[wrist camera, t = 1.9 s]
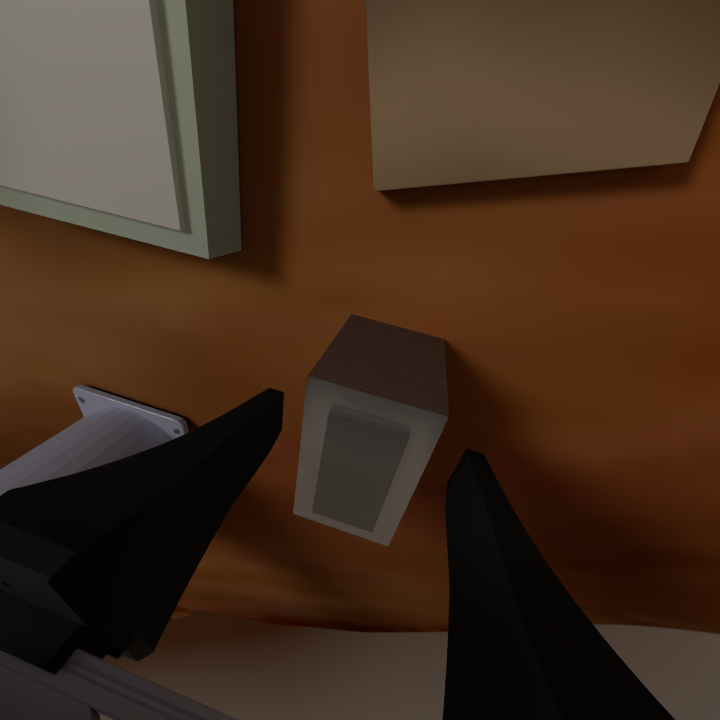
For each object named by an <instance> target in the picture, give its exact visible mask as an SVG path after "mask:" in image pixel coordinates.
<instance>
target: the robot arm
mask: <svg viewBox="0 0 720 720" xmlns="http://www.w3.org/2000/svg"><path fill="white" fill-rule="evenodd" d="M73 393H74V395H75V397H76V400H77V402H78V404H79V406H80V409H81V411H82V413H83V416H84V418H82V419H80V420H79V421H77V422H76V423H74V424H72V425H71V426H69V427H68V428H66V429H65V430H63V431H61V432H60V433H58V434H57V435H55V436H53V437H52V438H50V439H49V440H47V441H45V442H44V443H42V444H41V445H39V446H37V447H36V448H34V449H33V450H31V451H29V452H28V453H26V454H25V455H23V456H21V457H20V458H18V459H17V460H15V461H13V462H12V463H10V464H9V465H7V466H5V467H4V468H2V469H1V470H0V720H100V715H99V714H98V713H100V714H103V715H104V716H107V717H109V718H111V719H113V720H237V719H235V718H233V717H231V716H229V715H226V714H224V713H222V712H219V711H217V710H215V709H213V708H211V707H208V706H206V705H204V704H202V703H199V702H197V701H195V700H192V699H190V698H188V697H186V696H184V695H181V694H179V693H177V692H175V691H172V690H170V689H168V688H166V687H163V686H161V685H159V684H157V683H154V682H152V681H150V680H147V679H145V678H143V677H141V676H139V675H136V674H134V673H132V672H129V671H127V670H125V669H123V668H121V667H118V666H116V665H113V664H112V663H109V662H107V661H105V660H103V658H104V657H105V655H106V654H107V655H110V656H112V657H114V658H116V659H118V658H119V657H120V656H121V655H123V656H125V657H128V658H130V659H132V660H135V661H139V660H141V659H143V658H145V657H147V656H148V655H150V654H151V653H152V652H154V650H155V648H156V646H157V644H158V641H159V639H160V637H161V635H162V633H163V632H164V629H165V628H166V626H167V624H168V622H169V620H170V618H171V616H172V614H173V612H174V610H175V608H176V606H177V604H178V602H179V600H180V598H181V596H182V594H183V592H184V590H185V589H186V587H187V585H188V583H189V581H190V579H191V577H192V575H193V573H194V572H195V570H196V568H197V566H198V564H199V562H200V561H201V559H202V557H203V555H204V553H205V552H206V550H207V548H208V546H209V544H210V542H211V541H212V539H213V537H214V535H215V534H216V532H217V530H218V529H219V527H220V525H221V523H222V522H223V520H224V518H225V516H226V515H227V513H228V511H229V510H230V508H231V507H232V505H233V504H234V502H235V501H236V499H237V498H238V496H239V495H240V494H241V492H242V491H243V489H244V488H245V487H246V485H247V484H248V482H249V481H250V479H251V478H252V477H253V475H254V474H255V472H256V471H257V470H258V468H259V467H260V465H261V464H262V462H263V461H264V460H265V458H266V457H267V455H268V454H269V452H270V451H271V449H272V447H273V445H274V443H275V441H276V440H277V438H278V436H279V434H280V432H281V430H282V417H283V398H284V392H281V391H278V390H275V389H271V388H269V389H267V390H265V391H263V392H261V393H260V394H258V395H256V396H255V397H253V398H251V399H250V400H248V401H246V402H244V403H243V404H241V405H239V406H238V407H236V408H234V409H232V410H231V411H229V412H227V413H225V414H223V415H222V416H220V417H218V418H216V419H214V420H212V421H210V422H208V423H206V424H204V425H202V426H200V427H198V428H196V429H194V430H192V431H190V432H189V431H188V425H187V422H186V421H185V420H184V419H183V418H181V417H179V416H176V415H173V414H170V413H167V412H164V411H161V410H157V409H154V408H151V407H148V406H145V405H142V404H139V403H136V402H133V401H130V400H127V399H124V398H121V397H118V396H115V395H112V394H108V393H105V392H102V391H99V390H96V389H93V388H90V387H87V386H84V385H78V386H76V387H74V388H73ZM446 528H447V546H448V564H449V588H450V597H449V628H448V648H447V667H446V681H445V696H444V711H443V720H675V719H674V718H673V717H672V716H671V715H670V714H669V712H668V711H667V710H666V709H665V708H664V707H663V706H662V705H661V704H660V703H659V702H658V701H657V700H656V698H655V697H654V696H653V695H652V694H651V693H650V692H649V691H648V689H647V688H646V687H645V686H644V685H643V684H642V682H641V681H640V680H639V679H638V678H637V677H636V676H635V674H634V673H633V672H632V671H631V670H630V669H629V668H628V666H627V665H626V664H625V663H624V662H623V660H621V658H620V657H619V656H618V655H617V654H616V652H615V651H614V650H613V649H612V648H611V646H610V645H609V644H608V643H607V641H606V640H605V639H604V638H603V637H602V635H601V634H600V633H599V632H598V630H597V629H596V628H595V627H594V625H593V624H592V623H591V621H590V620H589V619H588V618H587V616H586V615H585V614H584V613H583V611H582V610H581V609H580V608H579V606H578V605H577V604H576V602H575V601H574V600H573V598H572V597H571V596H570V594H569V593H568V592H567V590H566V589H565V588H564V586H563V585H562V584H561V582H560V581H559V579H558V578H557V576H556V575H555V574H554V572H553V571H552V569H551V568H550V567H549V565H548V564H547V562H546V561H545V559H544V558H543V556H542V555H541V553H540V552H539V550H538V549H537V547H536V546H535V544H534V543H533V541H532V539H531V538H530V536H529V535H528V533H527V531H526V530H525V528H524V527H523V525H522V523H521V522H520V520H519V518H518V517H517V515H516V513H515V511H514V510H513V508H512V506H511V504H510V503H509V501H508V499H507V497H506V495H505V494H504V492H503V490H502V488H501V486H500V484H499V482H498V480H497V479H496V477H495V475H494V473H493V471H492V469H491V467H490V465H489V463H488V461H487V460H486V458H485V456H484V454H483V453H479V452H476V451H473V450H470V449H466V450H465V452H464V454H463V456H462V458H461V459H460V461H459V463H458V465H457V467H456V468H455V470H454V472H453V474H452V475H451V477H450V479H449V481H448V483H447V495H446ZM97 712H98V713H97Z"/></svg>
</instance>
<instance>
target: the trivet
mask: <svg viewBox="0 0 720 720" xmlns="http://www.w3.org/2000/svg"><path fill="white" fill-rule="evenodd" d="M366 18H367V41H368V64H369V87H370V110H371V134H372V157H373V180H374V191H386V190H397V189H408V188H419V187H430V186H441V185H452V184H463V183H474V182H485V181H496V180H507V179H518V178H529V177H540V176H550V175H561V174H572V173H583V172H594V171H605V170H616V169H627V168H638V167H649V166H660V165H670V164H677V163H684V162H689V160H690V157H691V155H692V152H693V150H694V147H695V145H696V142H697V140H698V137H699V134H700V132H701V129H702V127H703V124H704V122H705V119H706V117H707V114H708V112H709V109H710V107H711V104H712V101H713V99H714V96H715V94H716V91H717V89H718V86H719V84H720V0H366Z"/></svg>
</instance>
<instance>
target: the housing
mask: <svg viewBox="0 0 720 720" xmlns="http://www.w3.org/2000/svg"><path fill="white" fill-rule="evenodd" d="M448 418H449V408H448V391H447V373H446V356H445V339H443V338H439V337H435V336H432V335H428V334H424V333H420V332H417V331H413V330H409V329H405V328H402V327H398V326H394V325H390V324H387V323H383V322H379V321H376V320H372V319H368V318H364V317H361V316H357V315H353V314H351V315H350V317H349V318H348V320H347V321H346V322H345V324H344V325H343V327H342V328H341V329H340V331H339V332H338V334H337V335H336V337H335V338H334V339H333V341H332V342H331V344H330V345H329V346H328V348H327V349H326V351H325V352H324V353H323V355H322V356H321V358H320V359H319V361H318V362H317V363H316V365H315V366H314V368H313V369H312V370H311V372H310V373H309V375H308V377H307V387H306V396H305V406H304V415H303V425H302V434H301V444H300V454H299V463H298V473H297V482H296V492H295V501H294V511H293V514H296V515H299V516H302V517H305V518H307V519H310V520H313V521H316V522H319V523H322V524H325V525H328V526H331V527H334V528H337V529H339V530H342V531H345V532H348V533H351V534H354V535H357V536H360V537H363V538H366V539H368V540H371V541H374V542H377V543H380V544H383V545H386V546H388V545H389V543H390V541H391V539H392V537H393V535H394V533H395V531H396V529H397V526H398V524H399V522H400V520H401V518H402V516H403V514H404V512H405V509H406V507H407V505H408V503H409V501H410V499H411V497H412V495H413V493H414V490H415V488H416V486H417V484H418V482H419V480H420V478H421V476H422V473H423V471H424V469H425V467H426V465H427V463H428V461H429V459H430V457H431V454H432V452H433V450H434V448H435V446H436V444H437V442H438V440H439V437H440V435H441V433H442V431H443V429H444V427H445V425H446V423H447V420H448Z"/></svg>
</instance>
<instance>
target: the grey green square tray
mask: <svg viewBox="0 0 720 720" xmlns="http://www.w3.org/2000/svg"><path fill="white" fill-rule="evenodd" d="M0 205H3V206H7V207H11V208H15V209H19V210H22V211H26V212H30V213H34V214H38V215H42V216H45V217H49V218H53V219H57V220H61V221H65V222H68V223H72V224H76V225H80V226H84V227H87V228H91V229H95V230H99V231H103V232H107V233H110V234H114V235H118V236H122V237H126V238H130V239H133V240H137V241H141V242H145V243H149V244H153V245H156V246H160V247H164V248H168V249H172V250H175V251H179V252H183V253H187V254H191V255H195V256H198V257H202V258H206V259H212V258H216V257H219V256H223V255H226V254H230V253H234V252H237V251H241V250H242V247H241V218H240V188H239V158H238V128H237V98H236V68H235V38H234V8H233V0H0Z"/></svg>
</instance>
